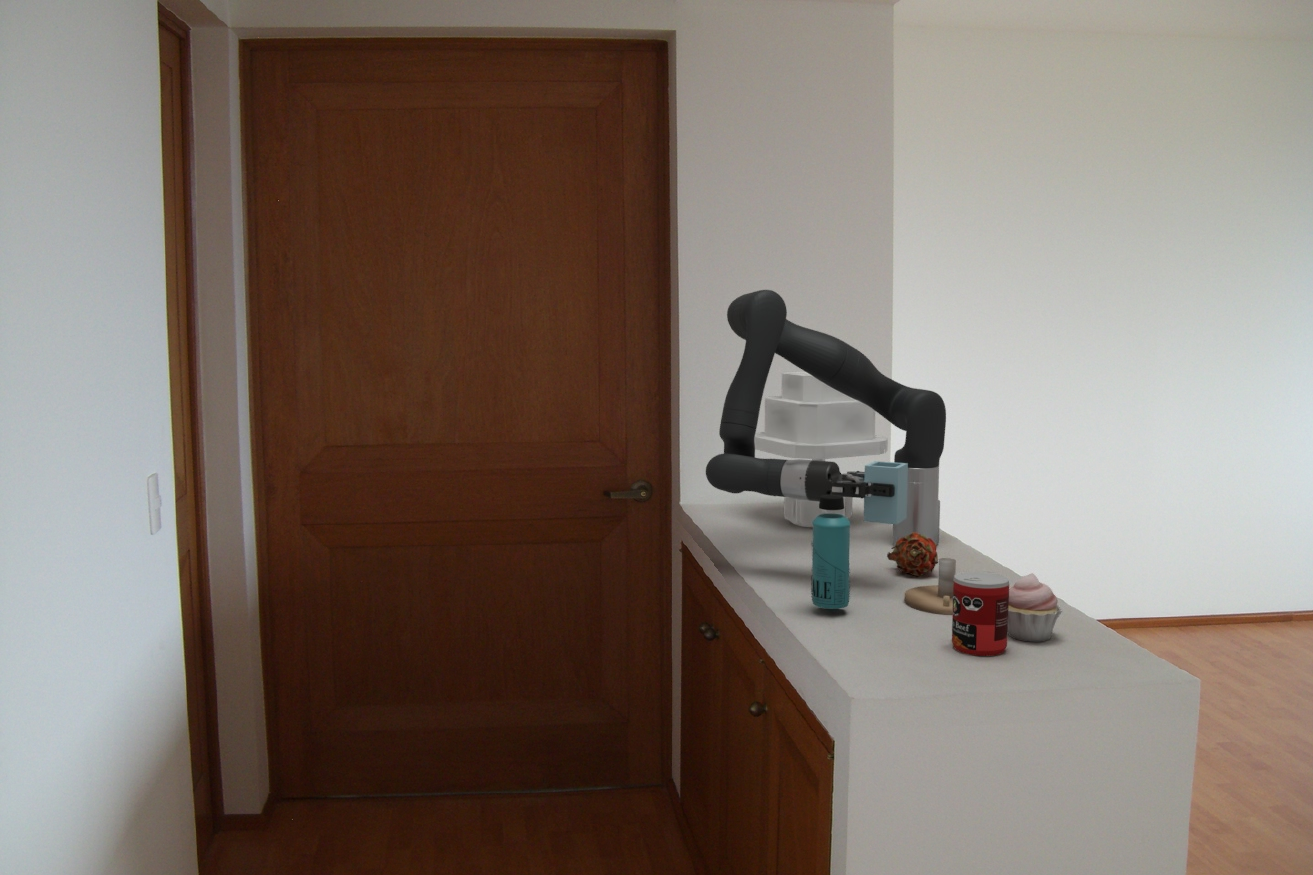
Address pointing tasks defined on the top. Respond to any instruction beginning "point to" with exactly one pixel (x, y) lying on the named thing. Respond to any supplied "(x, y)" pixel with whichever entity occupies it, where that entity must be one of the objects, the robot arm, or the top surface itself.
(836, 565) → the beverage bottle
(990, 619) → the canned food
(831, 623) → the top surface
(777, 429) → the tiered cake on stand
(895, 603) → the top surface
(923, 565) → the dragon fruit
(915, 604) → the post plate
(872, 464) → the blue pencil cup
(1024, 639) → the cupcake
